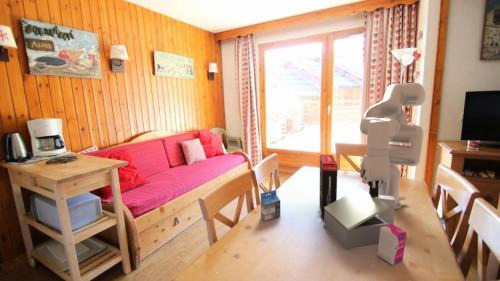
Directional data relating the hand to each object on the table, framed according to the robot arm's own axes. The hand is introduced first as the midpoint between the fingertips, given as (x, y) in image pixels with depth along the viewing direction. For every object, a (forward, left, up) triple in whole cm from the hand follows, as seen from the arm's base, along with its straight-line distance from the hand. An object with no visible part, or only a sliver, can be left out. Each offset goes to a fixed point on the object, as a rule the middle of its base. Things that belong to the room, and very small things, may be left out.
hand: (373, 195), depth 97 cm
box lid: (+8, 0, -4) cm, 9 cm away
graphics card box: (+9, -20, -16) cm, 27 cm away
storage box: (+8, 0, -16) cm, 18 cm away
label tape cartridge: (+37, -22, -16) cm, 46 cm away
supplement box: (+5, +16, -16) cm, 23 cm away
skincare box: (-11, -5, -16) cm, 20 cm away
